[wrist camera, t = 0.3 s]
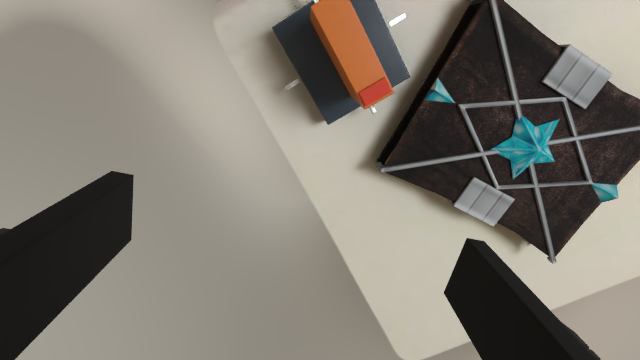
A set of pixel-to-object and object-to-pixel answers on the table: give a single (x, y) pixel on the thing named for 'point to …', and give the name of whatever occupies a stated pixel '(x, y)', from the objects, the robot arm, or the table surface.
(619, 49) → the table surface
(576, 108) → the book
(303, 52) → the plate
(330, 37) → the orange handle lever
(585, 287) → the table surface
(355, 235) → the table surface
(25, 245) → the robot arm
